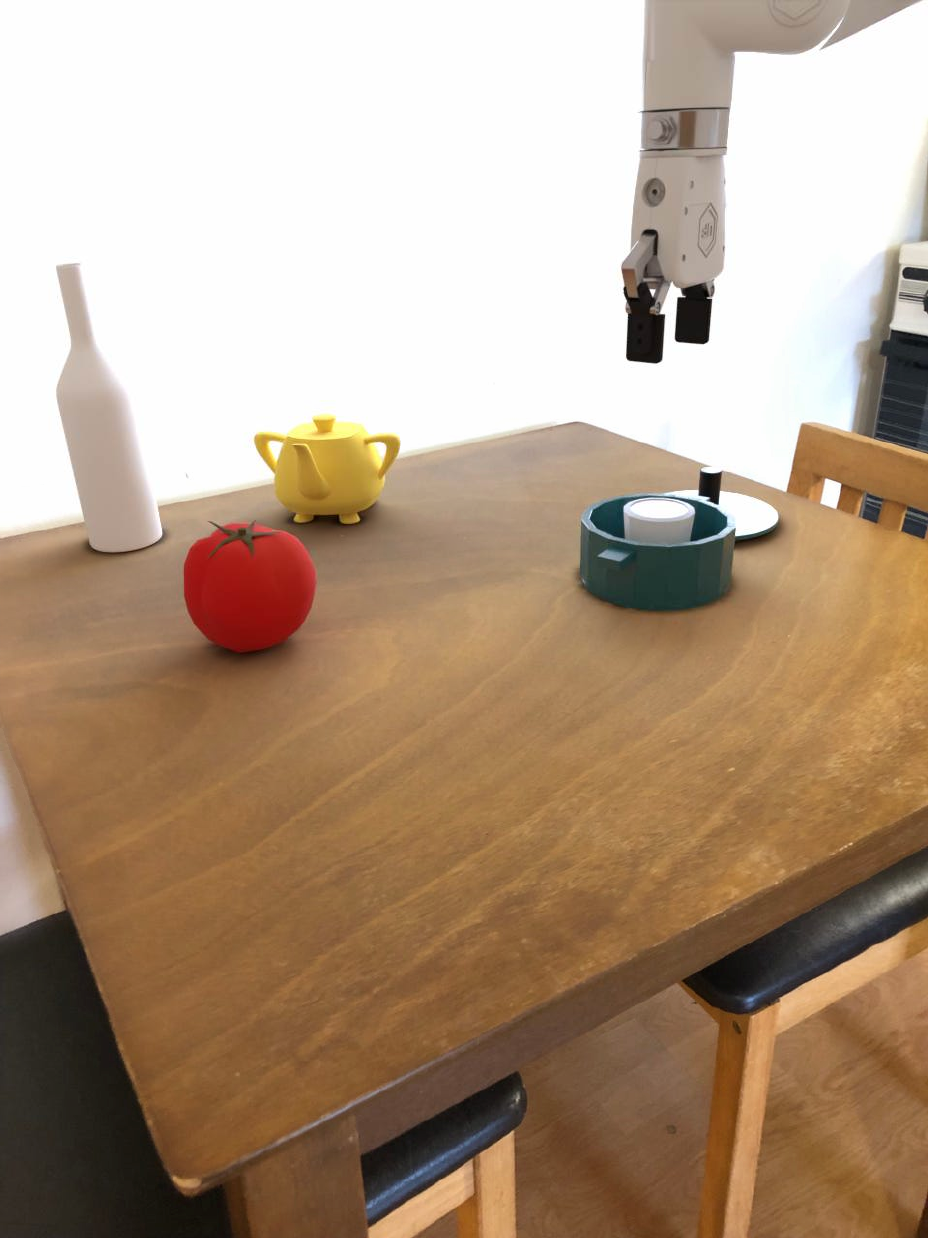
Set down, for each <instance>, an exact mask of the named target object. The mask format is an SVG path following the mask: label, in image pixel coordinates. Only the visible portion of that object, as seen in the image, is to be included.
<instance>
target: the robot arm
mask: <svg viewBox="0 0 928 1238" xmlns="http://www.w3.org/2000/svg"><path fill="white" fill-rule="evenodd" d="M923 1H924V0H641V8H640V14H641V15H640V31H639V32H640V34H639V52H638V53H639V55H638V79H637V80H638V81H637V82H638V83H637V99H636V112H637V113H636V125H635V126H636V127H635V146H634V148H635V149H634V150H635V151H634V159H638V163H637V168H636V174H635V180H634V188H633V197H632V205H631V216H630V226H629V227H630V228H629V241H628V253H627V255H626V256H625V257H624V259H623V260H622V261H621V265H620V270H621V275H622V280H623V285H624V286H623V288H622V291H623V296H624V299H625V300H626V302H625V307H624V309H625V313H626V314H627V324H626V343H625V344H626V347H625V358H626V360H627V361H628V362H635V363H643V364H644V363H645V364H654V365H656V364H660V363H662V361H663V359H664V344H665V343H664V342H665V329H666V328H665V327H666V313H661V312H662V309H663V307H664V303H665V301H666V298H667V296H668V293H669V290H670V287H671V285H673V287H675V288H676V289H679V290H680V292H681V296H678V297H677V298H676V310H675V325H674V329H675V330H674V341H675V342H676V343H681V344H692V345H693V344H694V345H705V344H707V343H709V341H710V333H711V320H712V309H713V297H714V295H715V292H716V291H715V290H716V285H715V279H716V278H718V277H719V276H720V275H721V274H722V272H723V271H724V268H725V258H726V257H725V256H726V238H727V217H728V216H727V215H728V214H727V212H728V209H727V208H728V178H727V177H728V176H727V175H728V172H727V160H726V159H727V158H726V156H729V153H730V148H729V147H730V141H731V140H730V139H731V138H730V137H731V127H732V126H731V125H732V115H733V104H734V93H735V81H736V80H735V79H736V69H737V58H738V54H739V53H740V54H755V55H757V56H758V57H759V58H760V59H762V60H763V61H765V62H767V63H770V64H773V65H774V64H775V65H783V66H784V65H792V64H796V63H800V62H803V61H804V60H806V59H809V58H811V57H813V56H815V55H817V54H819V53H821V52H823V51H826V50H827V49H829V48H831V47H833V46H835V45H837V44H839V43H841V42H842V41H845V40H847V39H849V38H851V37H853V36H855V35H857V34H859V33H860V32H863V31H865V30H868V29H869V28H871V27H873V26H875V25H877V24H879V23H881V22H883V21H885V20H887V19H889V18H891V17H892V16H895V15H897V14H899V13H901V12H903V11H904V10H907V9H909V8H911V7H913V6H915V5H916V4H919V3H921V2H923ZM651 290H654V293H653V294H652V292H651Z"/></svg>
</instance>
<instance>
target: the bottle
mask: <svg viewBox="0 0 928 1238" xmlns="http://www.w3.org/2000/svg"><path fill="white" fill-rule="evenodd" d="M55 270H56V275H57V279H58V284H59V288H60V293H61V298H62V303H63V307H64V312H65V317H66V321H67V327H68V332H69V337H70V349H69V352H68V355H67V357H66V360H65V363H64V365H63V368H62V370H61V372H60V375H59V378H58V381H57V384H56V388H55V394H56V395H55V397H56V402H57V407H58V412H59V415H60V420H61V426H62V429H63V433H64V438H65V442H66V446H67V451H68V456H69V459H70V464H71V468H72V469H71V470H72V473H73V478H74V482H75V485H76V490H77V495H78V499H79V504H80V507H81V513H82V516H83V521H84V525H85V529H86V533H87V537H88V542H89V545H90V547H91V548H92V549H94V550H95V551H98V552H103V553H125V552H130V551H131V552H132V551H136V550H141V549H143V548H147V547H150V546H151V545H154V544H155V543H157V542H158V541H159V540H160V539H161V538H162V536H163V529H162V523H161V519H160V513H159V507H158V502H157V497H156V491H155V486H154V481H153V477H152V471H151V465H150V460H149V455H148V450H147V444H146V440H145V439H146V438H145V434H144V428H143V424H142V423H143V422H142V418H141V412H140V407H139V402H138V397H137V394H136V393H137V392H136V388H135V385H134V383H133V380H132V379H131V378H130V376H129V375H128V373H127V372H126V371H125V370H124V369H123V367H121V365H120V364H119V362H117V361H116V360H115V359H114V358H113V356H112V355H111V354H110V353H109V352H108V351H107V349H106V348H105V347H104V345H103V344H102V343H101V341H100V338H99V333H98V330H97V325H96V321H95V316H94V312H93V307H92V301H91V297H90V296H91V295H90V292H89V287H88V281H87V278H86V272H85V268H84V265H83V263H81V262H79V263H78V262H75V263H74V262H73V263H61V264H57V265H55Z"/></svg>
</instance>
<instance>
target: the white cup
mask: <svg viewBox="0 0 928 1238" xmlns="http://www.w3.org/2000/svg"><path fill="white" fill-rule="evenodd" d="M694 516H695V509H694V507H692V506H691V505H690V504H688V503H685V502H682V501H679V500H674V499H668V498H645V499H638V500H634V501H631V502H629V503H627V504H626V505H625V506H624V529H625V539H627V540H632V541H636V542H646V543H663V544H672V543H683V542H690V538H691V532H692V527H693V521H694Z"/></svg>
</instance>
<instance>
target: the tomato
mask: <svg viewBox="0 0 928 1238" xmlns="http://www.w3.org/2000/svg"><path fill="white" fill-rule="evenodd" d="M256 521H257V519H255V520H253V521H252V522H250V523H249V522H230V523H227V524H225V525H222V526H221V525H220V524H217V523H215V522H213V521H212V520H211V521H210V520H207V522H208V523H210V524H211V525H213V526H214V527H216V528H217V529H215V530H214V531H212V532H211V534H210V535H209V536H207V537H203V538H199V539H197V540H196V541H195V542H194V543H193V544H192V545H191V546H190V548H189V549H188V552H187V555H186V556H185V557H186V558H185V560H184V562H183V598H184V602H185V605H186V609H187V613H188V615H189V617H190V619H191V621H192V623H193V624H194V626H195V627H196V628H197V629H198V630H199V631H200V632H201V634H202V635H203V636H204V637H205V638H206V639H207V640H208V641H210V642H212V643H213V644H215V645H217V646H219V647H222V648H225V649H227V650H230V651H233V652H236V653H239V654H240V653H241V654H242V653H249V652H254V651H259V650H265V649H269V648H271V647H273V646H276V645H278V644H280V643H283V642H285V641H286V640H287V639H289V638H290V637H291V636H293V634H294V633H296V632H297V631H298V630H299V629H300V628H301V627H302V625H303V624H304V622H306V620H307V618H308V615H309V614H310V612H311V609H312V608H313V603H314V599H315V594H316V587H317V575H316V569H315V564H314V563H313V560H312V558H311V556H310V554H309V552H308V550H307V548H306V547H305V545H304V544H303V543H302V541H300V539H299V538H298V537H297V536H296V535H293V534H291V533H289V532H287V531H286V530H282V529H281V530H278V529H277V530H274V529H273V528H271V527H268V526H264V525H260V524H256Z"/></svg>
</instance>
